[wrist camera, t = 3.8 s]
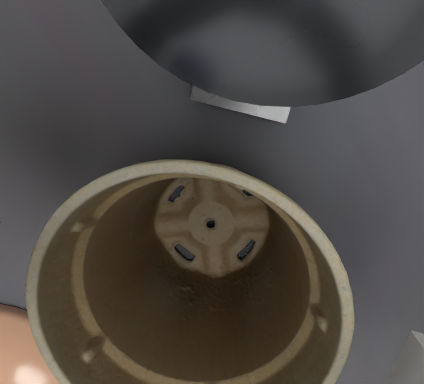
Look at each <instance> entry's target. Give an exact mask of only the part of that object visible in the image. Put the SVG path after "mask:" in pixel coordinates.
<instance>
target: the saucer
mask: <svg viewBox="0 0 424 384" xmlns="http://www.w3.org/2000/svg"><path fill="white" fill-rule="evenodd" d="M0 384H59V382H58V381H57V380H56V378H55V377H54V376H53V374H52V372H51V371H50V369H49V368H48V366H47V364H46V363H45V361H44V359H43V357H42V355H41V354H40V351H39V349H38V347H37V345H36V342H35V340H34V338H33V335H32V331H31V328H30V323H29V316H28V313H27V310H23V309H20V308H17V307H13V306H8V305H3V304H0Z"/></svg>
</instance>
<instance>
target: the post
mask: <svg viewBox="0 0 424 384" xmlns="http://www.w3.org/2000/svg"><path fill="white" fill-rule="evenodd" d="M101 1H102V2H103V4H104V5H105V7H106V8H107V9H108V11H109V12H110V14H111V15H112V17H113V18H114V19H115V21H116V22H117V24H118V25H119V26H120V27H121V28H122V29H123V30H124V32H125V33H126V34H127V35H128V36H129V37H130V38H131V39H132V40H133V42H134V43H135V44H136V45H137V46H138V47H139V48H140V49H142V50H143V51H144V52H145V53H146V54H147V55H148V56H150V57H151V58H152V59H153V60H154V61H155V62H157V63H158V64H159V65H160V66H162V67H163V68H165V69H166V70H168V71H169V72H171V73H172V74H174V75H175V76H177V77H178V78H180V79H182V80H183V81H185V82H187V83H189V84H191V85H193V87H192V92H191V97H190V100H194V101H198V102H202V103H206V104H210V105H214V106H218V107H222V108H226V109H230V110H234V111H238V112H242V113H246V114H250V115H254V116H258V117H262V118H266V119H270V120H274V121H278V122H282V123H286V121H287V118H288V114H289V111H290V108H291V107H295V106H306V105H317V104H322V103H326V102H331V101H335V100H340V99H344V98H348V97H351V96H353V95H356V94H359V93H362V92H365V91H367V90H370V89H373V88H376V87H378V86H380V85H382V84H384V83H386V82H388V81H390V80H392V79H394V78H396V77H398V76H400V75H402V74H404V73H405V72H407V71H408V70H410V69H411V68H413V67H414V66H416V65H417V64H419V63H420V62H422V61H423V60H424V0H101Z"/></svg>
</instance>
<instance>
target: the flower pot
mask: <svg viewBox="0 0 424 384" xmlns="http://www.w3.org/2000/svg"><path fill="white" fill-rule="evenodd" d="M180 186H184V189H183V190H182V192H181V193H180V197H179V196H178V197H177V198H176V199H174V201H173V202H171V201H169V198H170V197H171V195H172V194H173V192H174V191H175V190H176V189H177V188H178V187H180ZM242 190H245V191H247V192H249V193H251V195H250V196H247V195H246V194H244V193H243V192H242ZM208 221H214V222H215V226H214V227H213V228H209V227H208V226H207V222H208ZM251 240H253V241H255V243H254V244H253V248H252V249H251V250H250V252H249V253H248V254H247V255H246V256H245V257H244V258H242V259H238V253H239V252H240V251H241V250H242V249H244V248H245V246H246V245H247V244H248V243H249V242H250V241H251ZM178 244H179V245H181V246H182V247H184V248H185V249H186V250H188V251H189V252H190V253H192V255H195V257H194V259H193V260H192V261H189V260H186V259H185V258H184V257H183V256H182V255H181V254H180V253H179V252H178V251H177V250H176V249H175V247H176V246H177V245H178ZM25 286H26V306H27V313H28V316H29V323H30V328H31V331H32V335H33V338H34V340H35V342H36V345H37V347H38V349H39V351H40V354H41V355H42V357H43V359H44V361H45V363H46V364H47V366H48V368H49V369H50V371H51V372H52V374H53V376H54V377H55V378H56V380H57V381H58V382H59V384H335V383H336V381H337V379H338V378H339V376H340V373H341V371H342V369H343V368H344V366H345V364H346V361H347V359H348V353H349V350H350V346H351V343H352V336H353V331H354V307H353V297H352V291H351V288H350V284H349V280H348V275H347V272H346V270H345V268H344V266H343V263H342V262H341V259H340V257H339V255H338V253H337V252H336V250H335V248H334V247H333V245H332V243H331V242H330V240H329V239H328V237H327V236H326V235H325V233H324V232H323V231H322V230H321V228H320V227H319V226H318V224H317V223H316V222H315V221H314V220H313V219H312V218H311V217H310V216H309V215H308V214H307V213H306V212H305V211H304V210H303V209H302V208H301V207H300V206H299V205H298V204H297V203H295V202H294V201H293V200H292V199H290V198H289V197H288V196H286V195H285V194H284V193H282V192H280V191H279V190H277V189H276V188H274V187H272V186H271V185H269V184H267V183H265V182H263V181H261V180H259V179H257V178H255V177H253V176H250V175H248V174H246V173H243V172H241V171H239V170H237V169H235V168H233V167H230V166H227V165H222V164H213V163H208V162H203V161H195V160H182V159H166V160H155V161H149V162H143V163H138V164H134V165H131V166H128V167H125V168H121V169H118V170H115V171H113V172H111V173H108V174H106V175H104V176H101V177H99V178H98V179H96V180H94V181H92V182H91V183H89V184H88V185H86V186H84V187H82V188H81V189H80V190H78V191H77V192H76V193H74V194H73V195H72V196H71V197H70V198H68V199H67V200H66V201H65V202H64V203H63V204H62V205H61V206H60V207H59V208H58V209H57V210H56V211H55V212H54V214H53V215H52V217H51V218H50V219H49V220H48V222H47V223H46V225H45V226H44V229H43V230H42V233H41V235H40V236H39V238H38V240H37V243H36V245H35V247H34V249H33V252H32V255H31V259H30V262H29V266H28V271H27V280H26V284H25Z"/></svg>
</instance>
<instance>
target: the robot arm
mask: <svg viewBox="0 0 424 384" xmlns="http://www.w3.org/2000/svg"><path fill="white" fill-rule="evenodd" d="M0 223H1V221H0ZM385 384H424V334H422V333H419V332H415V331H410V333H409V335H408V337H407V339H406V341H405V343H404V345H403V348H402V350H401V352H400V354H399V356H398V358H397V360H396V362H395V364H394V366H393V369H392V371H391V373H390V375H389V377H388V379H387V381H386V383H385Z"/></svg>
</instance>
